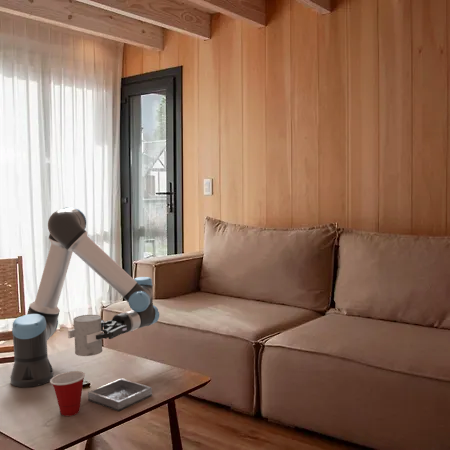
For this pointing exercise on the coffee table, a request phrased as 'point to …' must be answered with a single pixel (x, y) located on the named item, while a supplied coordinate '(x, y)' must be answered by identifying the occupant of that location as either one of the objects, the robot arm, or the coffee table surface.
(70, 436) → the coffee table surface
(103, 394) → the grey square tray
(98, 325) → the speckled white cylinder
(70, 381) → the plastic cup
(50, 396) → the coffee table surface
